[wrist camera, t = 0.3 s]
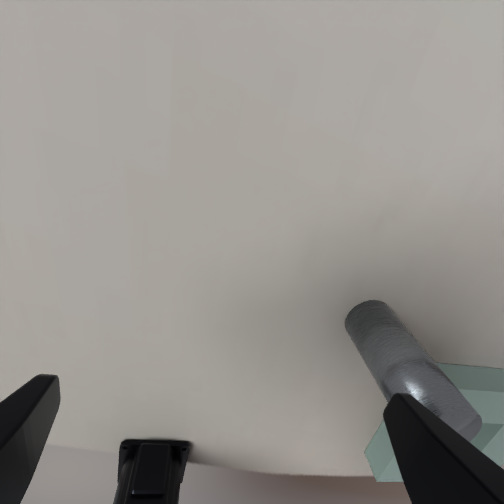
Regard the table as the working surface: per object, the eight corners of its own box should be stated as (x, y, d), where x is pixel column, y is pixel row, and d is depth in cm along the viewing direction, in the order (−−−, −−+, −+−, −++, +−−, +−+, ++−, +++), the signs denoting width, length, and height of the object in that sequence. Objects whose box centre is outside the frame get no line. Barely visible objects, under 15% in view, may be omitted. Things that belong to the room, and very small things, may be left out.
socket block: (467, 454, 38) (486, 482, 35) (364, 452, 35) (376, 481, 32) (535, 371, 32) (565, 396, 29) (418, 361, 29) (439, 387, 26)
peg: (379, 340, 27) (459, 456, 18) (338, 335, 27) (401, 454, 18) (398, 303, 26) (495, 411, 17) (354, 297, 25) (433, 407, 16)
